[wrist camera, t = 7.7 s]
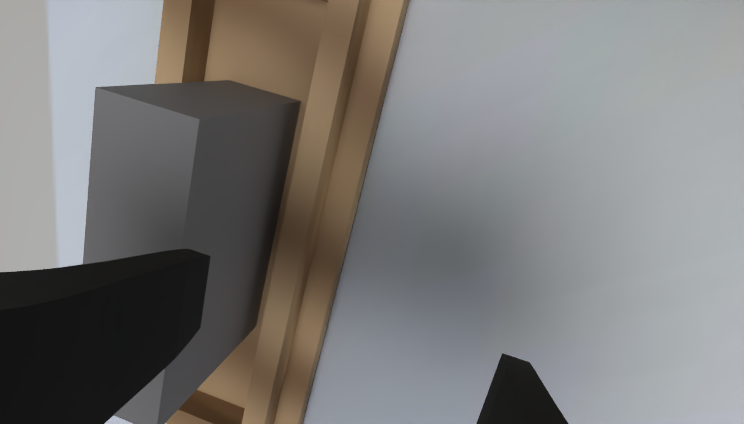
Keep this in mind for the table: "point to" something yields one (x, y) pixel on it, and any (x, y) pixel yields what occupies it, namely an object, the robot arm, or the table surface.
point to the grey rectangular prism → (191, 205)
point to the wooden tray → (290, 172)
